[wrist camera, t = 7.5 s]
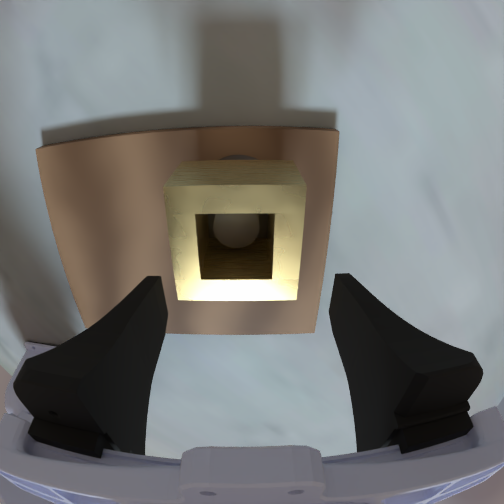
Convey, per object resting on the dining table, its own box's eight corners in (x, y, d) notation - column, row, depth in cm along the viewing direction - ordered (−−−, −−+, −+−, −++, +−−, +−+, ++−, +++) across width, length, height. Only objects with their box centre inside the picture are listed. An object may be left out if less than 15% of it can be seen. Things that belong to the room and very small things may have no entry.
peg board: (89, 320, 26) (66, 369, 21) (42, 145, 18) (-9, 172, 13) (312, 324, 27) (324, 380, 22) (335, 128, 19) (368, 149, 13)
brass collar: (189, 256, 18) (178, 300, 15) (181, 161, 16) (163, 186, 12) (287, 256, 19) (296, 299, 15) (293, 160, 16) (306, 185, 12)
